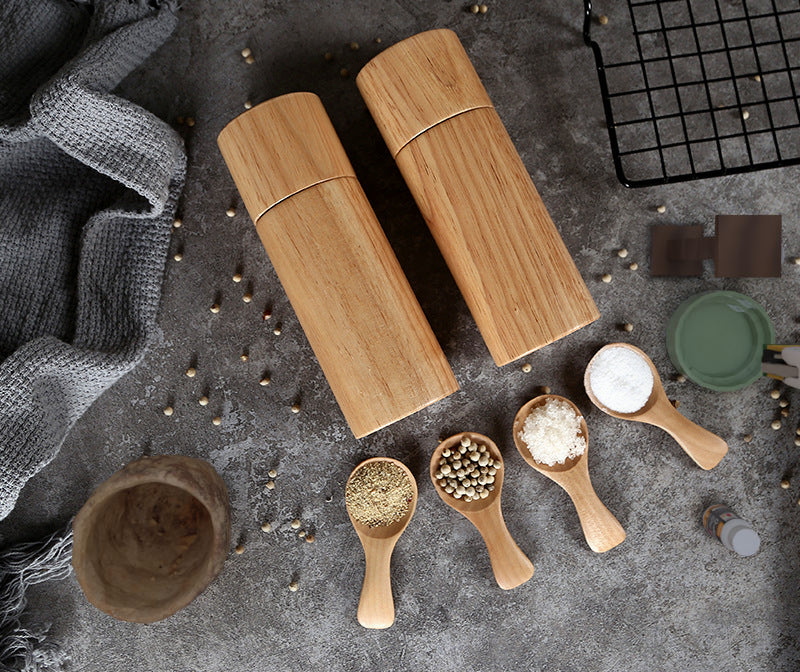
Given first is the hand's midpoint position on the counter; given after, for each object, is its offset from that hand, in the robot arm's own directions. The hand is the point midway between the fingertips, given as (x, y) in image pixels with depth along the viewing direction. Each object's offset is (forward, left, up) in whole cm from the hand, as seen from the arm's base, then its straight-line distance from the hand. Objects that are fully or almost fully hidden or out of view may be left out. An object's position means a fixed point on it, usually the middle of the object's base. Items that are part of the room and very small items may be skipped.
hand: (784, 360), depth 90 cm
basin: (-3, 0, -26) cm, 26 cm away
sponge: (0, 0, -2) cm, 2 cm away
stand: (+4, -16, -26) cm, 31 cm away
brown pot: (+91, +28, -26) cm, 99 cm away
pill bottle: (-4, +33, -27) cm, 42 cm away
